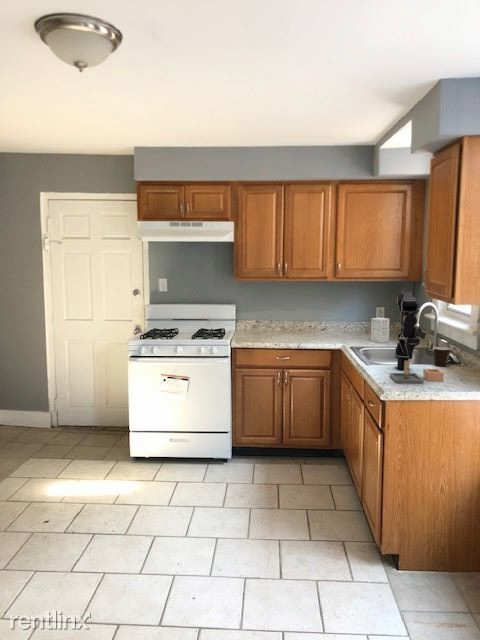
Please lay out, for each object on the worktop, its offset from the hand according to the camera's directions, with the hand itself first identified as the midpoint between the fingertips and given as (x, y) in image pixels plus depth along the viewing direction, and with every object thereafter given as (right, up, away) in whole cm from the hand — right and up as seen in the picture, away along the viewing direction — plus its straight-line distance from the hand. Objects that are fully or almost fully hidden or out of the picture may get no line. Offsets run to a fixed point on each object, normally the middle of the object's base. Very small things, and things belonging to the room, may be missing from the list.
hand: (407, 354), depth 245 cm
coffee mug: (+31, -9, +34) cm, 47 cm away
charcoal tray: (0, -13, +2) cm, 13 cm away
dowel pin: (0, -12, +2) cm, 12 cm away
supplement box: (+18, +2, +110) cm, 112 cm away
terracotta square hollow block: (+14, -13, +3) cm, 19 cm away
